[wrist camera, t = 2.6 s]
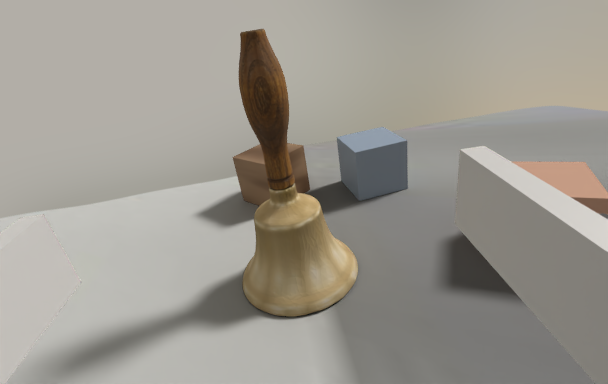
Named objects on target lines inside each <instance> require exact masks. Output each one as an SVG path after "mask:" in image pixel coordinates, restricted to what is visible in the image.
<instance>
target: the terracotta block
mask: <svg viewBox="0 0 608 384" xmlns="http://www.w3.org/2000/svg"><path fill="white" fill-rule="evenodd" d="M512 163H514V164H516V165H517V166H519V167H521V168H522V169H524V170H526V171H527V172H529V173H531V174H532V175H534V176H536V177H537V178H539V179H541V180H542V181H544V182H546V183H547V184H549V185H551V186H553V187H554V188H556V189H558V190H559V191H561V192H563V193H564V194H566V195H568V196H569V197H571V198H573V199H574V200H576V201H578V202H579V203H581V204H583V205H584V206H586V207H588V208H590V209H591V210H593V211H595V212H596V213H598V214H601V213H604V214H607V215H608V192H607V191H606V190H605V188H604V187H603V186H602V184H601V183H600V182H599V180H598V179H597V178H596V176H595V175H594V174H593V172H592V171H591V170H590V168H589V167H588V166H587V164H586V163H585V162H512Z"/></svg>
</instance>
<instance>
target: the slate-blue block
mask: <svg viewBox="0 0 608 384" xmlns="http://www.w3.org/2000/svg"><path fill="white" fill-rule="evenodd" d="M337 143H338V153H339V162H340V171H341V181H342V182H343V183H344V184H345V185H346V186H347V188H348V189H349V190H350V191H351V192H352V193H353V194H354V196H355V197H356V198H357V199H358V200H359V201H361V200H365V199H369V198H373V197H377V196H381V195H384V194H388V193H392V192H396V191H400V190H404V189H408V179H407V140H405V139H404V138H402V137H400V136H398V135H396V134H395V133H393V132H391V131H389V130H387V129H386V128H384V127H380V128H376V129H371V130H367V131H362V132H357V133H353V134H349V135H344V136H340V137H337Z"/></svg>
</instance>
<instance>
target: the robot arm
mask: <svg viewBox="0 0 608 384" xmlns="http://www.w3.org/2000/svg"><path fill="white" fill-rule="evenodd" d="M455 225H456V226H457V227H458V228H459V229H460V230H461V232H462V233H463V234H464V235H465V236H466V237H467V238H468V240H469V241H470V242H471V243H472V244H473V245H474V246H475V248H476V249H477V250H478V251H479V252H480V253H481V254H482V255H483V257H484V258H485V259H486V260H487V261H488V262H489V263H490V265H491V266H492V267H493V268H494V269H495V270H496V271H497V272H498V274H499V275H500V276H501V277H502V278H503V279H504V280H505V282H506V283H507V284H508V285H509V286H510V287H511V288H512V289H513V291H514V292H515V293H516V294H517V295H518V296H519V297H520V299H521V300H522V301H523V302H524V303H525V304H526V305H527V306H528V308H529V309H530V310H531V311H532V312H533V313H534V314H535V316H536V317H537V318H538V319H539V320H540V321H541V322H542V323H543V325H544V326H545V327H546V328H547V329H548V330H549V331H550V333H551V334H552V335H553V336H554V337H555V338H556V339H557V340H558V342H559V343H560V344H561V345H562V346H563V347H564V348H565V350H566V351H567V352H568V353H569V354H570V355H571V356H572V357H573V359H574V360H575V361H576V362H577V363H578V364H579V365H580V367H581V368H582V369H583V370H584V371H585V372H586V373H587V374H588V376H589V377H590V378H591V379H592V380H593V381H594V382H595V384H608V215H607V214H604V213H601V214H598V213H596V212H595V211H593V210H591V209H590V208H588V207H586V206H584V205H583V204H581V203H579V202H578V201H576V200H574V199H573V198H571V197H569V196H568V195H566V194H564V193H563V192H561V191H559V190H558V189H556V188H554V187H553V186H551V185H549V184H547V183H546V182H544V181H542V180H541V179H539V178H537V177H536V176H534V175H532V174H531V173H529V172H527V171H526V170H524V169H522V168H521V167H519V166H517V165H516V164H514V163H512V162H511V161H509V160H507V159H505V158H504V157H502V156H500V155H499V154H497V153H495V152H494V151H492V150H490V149H489V148H487V147H485V146H479V147H473V148H466V149H460V154H459V169H458V184H457V198H456V213H455ZM80 284H81V280H80V278H79V276H78V275H77V273H76V271H75V269H74V267H73V266H72V264H71V262H70V260H69V258H68V257H67V255H66V253H65V251H64V249H63V247H62V246H61V244H60V242H59V240H58V238H57V237H56V235H55V233H54V231H53V229H52V227H51V226H50V224H49V222H48V220H47V218H46V217H45V215H44V214H41V215H35V216H29V217H22V218H19V219H18V220H16V221H15V222H14V223H12V224H11V225H10V226H8V227H7V228H6V229H4V230H3V231H2V232H1V233H0V384H5V383H6V382H7V380H8V379H9V378H10V376H11V375H12V374H13V372H14V371H15V370H16V368H17V367H18V366H19V364H20V363H21V362H22V360H23V359H24V358H25V357H26V355H27V354H28V353H29V351H30V350H31V349H32V347H33V346H34V345H35V343H36V342H37V341H38V339H39V338H40V337H41V335H42V334H43V333H44V331H45V330H46V329H47V327H48V326H49V325H50V323H51V322H52V321H53V319H54V318H55V317H56V315H57V314H58V313H59V311H60V310H61V309H62V307H63V306H64V305H65V303H66V302H67V301H68V299H69V298H70V297H71V295H72V294H73V293H74V291H75V290H76V289H77V287H78V286H79V285H80Z"/></svg>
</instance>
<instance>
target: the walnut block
mask: <svg viewBox="0 0 608 384" xmlns="http://www.w3.org/2000/svg"><path fill="white" fill-rule="evenodd" d="M287 147H288V152H289V157H290V161H291V166H292V171H293V172H292V173H293V175H294V178H295V182H294V183H295V186H296V190H297V193H302V194H304V193H306V192H307V191H309V190H310V186H309V180H308V173H307V167H306V160H305V154H304V148H303V145H296V144H290V143H287ZM233 160H234V164H235V168H236V172H237V176H238V180H239V184H240V188H241V192H242V195H243V199H244V201H247V202H250V203H253V204H256V205H259V206H260V205H261V204H263V203H264V202H266V201H267V200H269V199H270V192H269V186H268V181H267V178H268V177H267V174H266V168H265V162H264V156H263V151H262V148H261V145H258V146H256V147H253V148H251V149H249V150H247V151H245V152H243V153H241V154H239V155H236V156H234V157H233Z"/></svg>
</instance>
